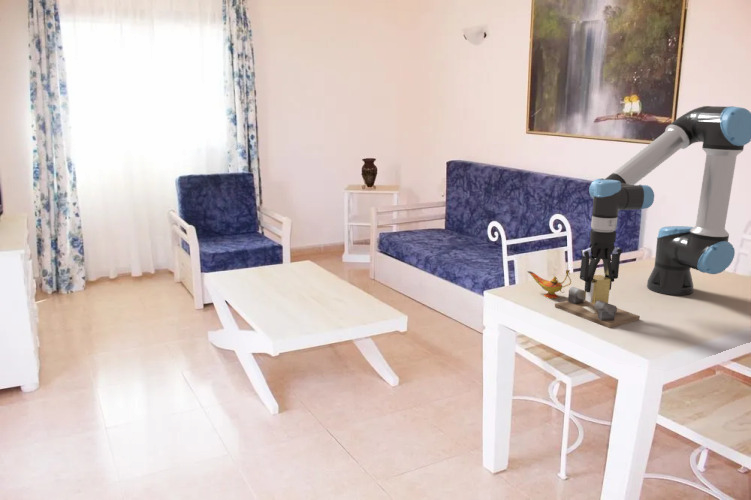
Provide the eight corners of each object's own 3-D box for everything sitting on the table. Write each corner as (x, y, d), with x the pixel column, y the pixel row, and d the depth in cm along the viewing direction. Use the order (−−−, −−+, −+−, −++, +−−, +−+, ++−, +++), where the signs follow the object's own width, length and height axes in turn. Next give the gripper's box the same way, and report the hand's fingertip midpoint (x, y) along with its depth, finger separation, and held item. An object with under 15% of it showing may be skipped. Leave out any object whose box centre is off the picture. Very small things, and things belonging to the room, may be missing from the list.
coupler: (598, 298, 201) (600, 274, 199) (608, 303, 197) (610, 279, 195) (585, 299, 200) (587, 275, 198) (594, 304, 195) (596, 280, 193)
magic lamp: (532, 287, 226) (534, 258, 223) (575, 299, 213) (577, 268, 210) (520, 290, 222) (522, 261, 219) (563, 303, 208) (566, 272, 206)
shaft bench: (639, 319, 194) (641, 301, 192) (609, 327, 187) (610, 309, 185) (584, 300, 212) (585, 283, 210) (554, 306, 205) (556, 289, 204)
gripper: (585, 233, 187) (578, 306, 192) (636, 230, 191) (628, 301, 197) (571, 228, 194) (565, 299, 199) (620, 225, 198) (613, 294, 204)
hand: (596, 300), depth 198 cm, fingers closed on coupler, 5 cm apart
